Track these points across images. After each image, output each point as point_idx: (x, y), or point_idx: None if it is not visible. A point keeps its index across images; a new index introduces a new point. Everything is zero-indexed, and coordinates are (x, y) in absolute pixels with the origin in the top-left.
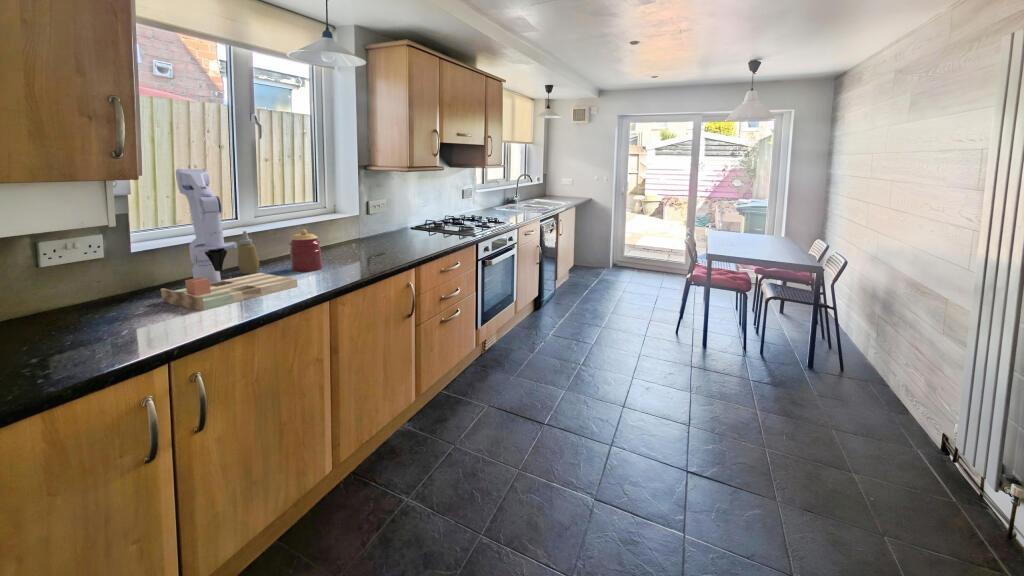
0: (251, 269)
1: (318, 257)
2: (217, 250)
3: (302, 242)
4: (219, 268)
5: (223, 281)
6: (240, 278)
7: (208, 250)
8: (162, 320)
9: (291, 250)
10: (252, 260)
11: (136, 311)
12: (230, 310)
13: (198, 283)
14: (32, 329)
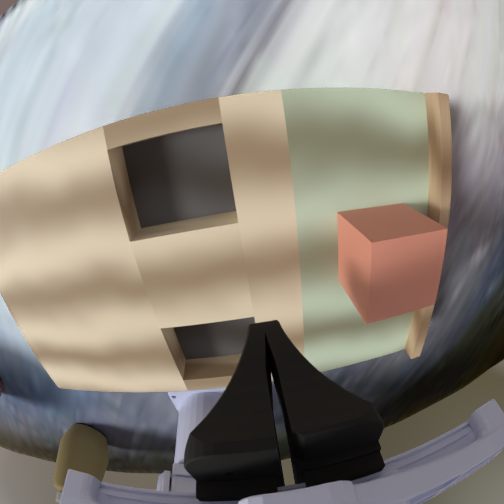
0: (81, 433)
1: None
2: (276, 484)
3: None
4: (273, 330)
5: (188, 378)
6: (122, 372)
7: (381, 471)
8: (494, 116)
9: None
10: (70, 451)
11: (475, 270)
12: (339, 5)
13: (421, 226)
14: None
